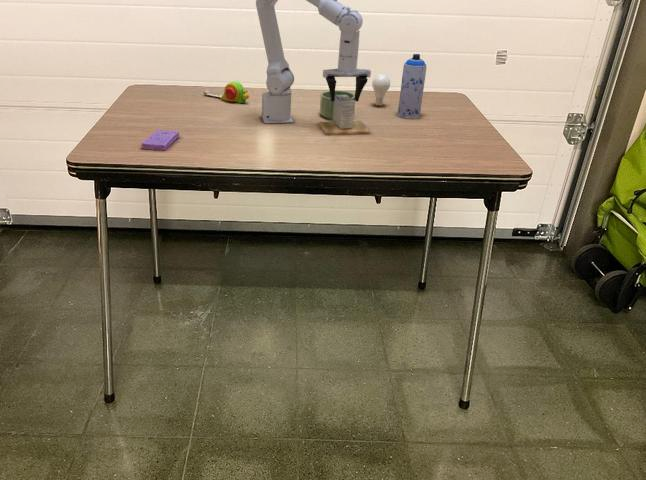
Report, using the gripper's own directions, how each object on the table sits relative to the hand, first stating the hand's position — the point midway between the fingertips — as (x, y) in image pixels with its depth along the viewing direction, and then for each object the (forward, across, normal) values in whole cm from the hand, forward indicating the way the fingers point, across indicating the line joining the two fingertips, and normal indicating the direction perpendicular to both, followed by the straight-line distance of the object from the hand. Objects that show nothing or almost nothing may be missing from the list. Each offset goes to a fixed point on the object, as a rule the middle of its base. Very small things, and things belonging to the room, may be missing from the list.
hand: (344, 100), depth 189 cm
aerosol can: (+9, +26, +12) cm, 30 cm away
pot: (+9, +1, +13) cm, 16 cm away
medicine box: (+8, 0, +1) cm, 8 cm away
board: (+9, 0, -1) cm, 9 cm away
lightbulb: (+9, +19, +24) cm, 32 cm away
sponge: (+9, -57, -10) cm, 58 cm away
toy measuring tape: (+9, -34, +36) cm, 50 cm away
